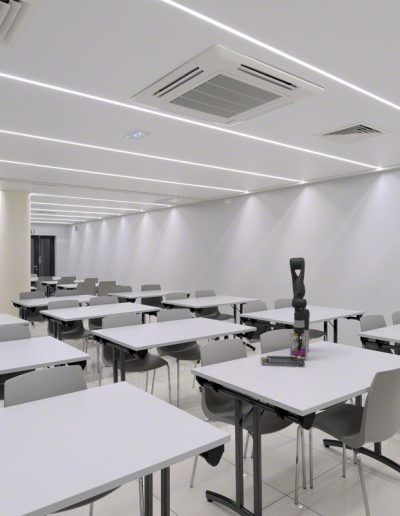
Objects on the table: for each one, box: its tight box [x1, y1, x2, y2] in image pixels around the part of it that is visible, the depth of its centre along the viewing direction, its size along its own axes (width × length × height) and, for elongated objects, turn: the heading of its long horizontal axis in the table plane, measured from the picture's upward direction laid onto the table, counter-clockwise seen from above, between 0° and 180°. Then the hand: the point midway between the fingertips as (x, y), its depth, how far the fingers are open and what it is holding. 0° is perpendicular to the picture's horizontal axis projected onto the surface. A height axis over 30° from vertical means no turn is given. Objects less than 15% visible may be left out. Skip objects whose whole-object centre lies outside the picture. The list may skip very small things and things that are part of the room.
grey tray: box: [260, 355, 305, 368], centre depth 270 cm, size 16×28×5 cm, turn 85°
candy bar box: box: [289, 331, 308, 358], centre depth 282 cm, size 11×5×16 cm, turn 59°
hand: (298, 349), depth 282 cm, fingers closed on candy bar box, 6 cm apart
